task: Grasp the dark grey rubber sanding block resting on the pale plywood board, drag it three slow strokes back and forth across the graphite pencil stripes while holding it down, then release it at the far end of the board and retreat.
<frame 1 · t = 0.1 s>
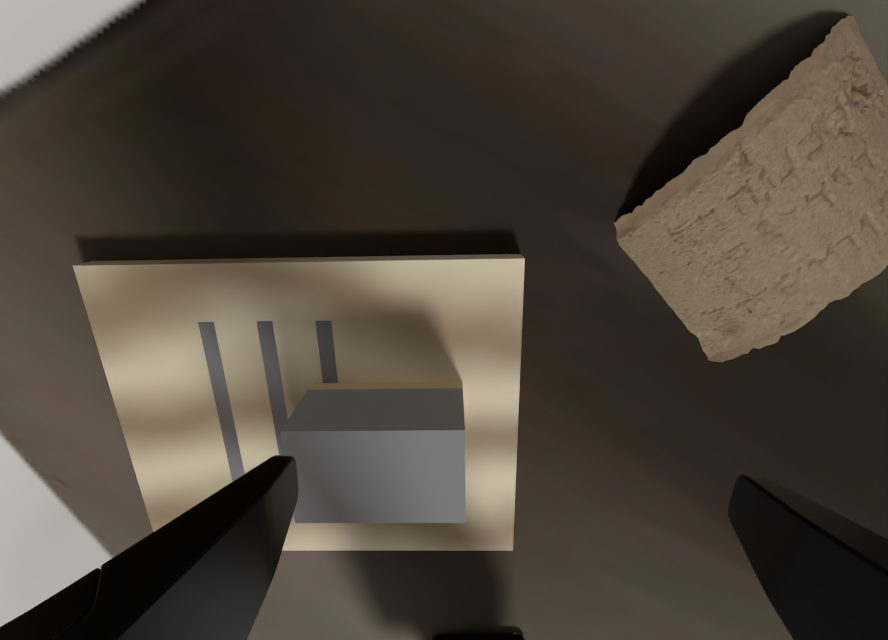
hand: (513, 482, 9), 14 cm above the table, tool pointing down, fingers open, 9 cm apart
plywood board: (323, 412, 25), on the table
clay tablet: (761, 207, 22), on the table
sanding block: (389, 423, 24), point 1 cm above the table, touching plywood board
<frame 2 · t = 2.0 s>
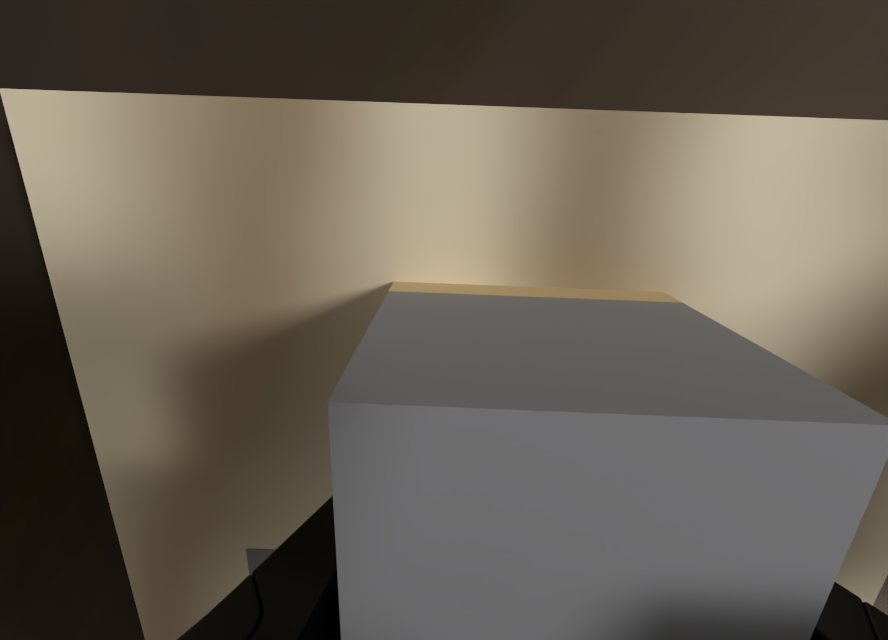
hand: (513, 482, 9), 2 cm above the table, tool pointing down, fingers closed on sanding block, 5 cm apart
plywood board: (492, 561, 12), on the table
sanding block: (510, 467, 9), point 1 cm above the table, touching gripper, plywood board
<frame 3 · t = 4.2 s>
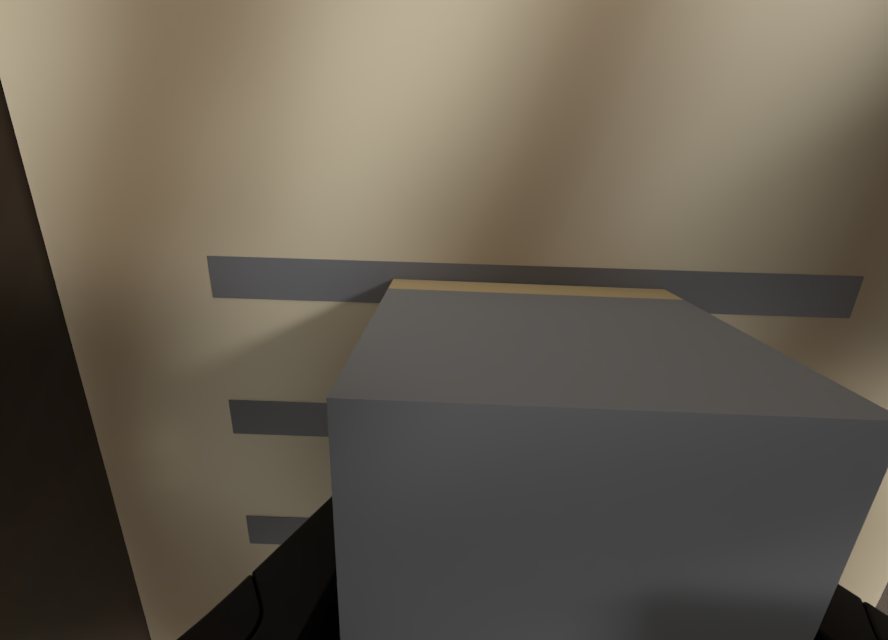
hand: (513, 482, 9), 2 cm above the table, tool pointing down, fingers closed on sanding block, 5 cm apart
plywood board: (517, 317, 10), on the table
sanding block: (510, 466, 9), point 1 cm above the table, touching gripper
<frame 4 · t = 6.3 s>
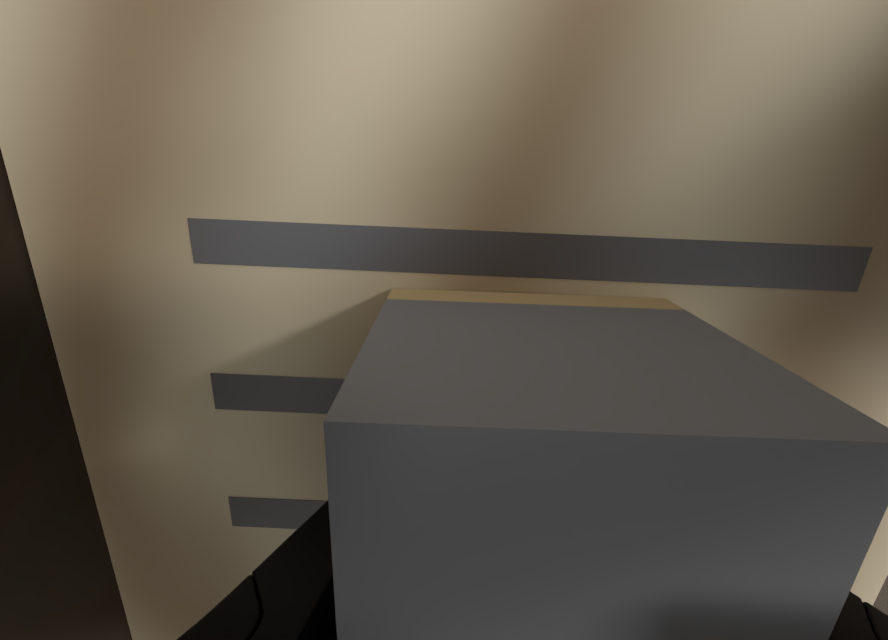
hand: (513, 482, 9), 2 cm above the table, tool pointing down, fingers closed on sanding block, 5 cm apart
plywood board: (512, 292, 9), on the table
sanding block: (510, 475, 9), point 1 cm above the table, touching gripper
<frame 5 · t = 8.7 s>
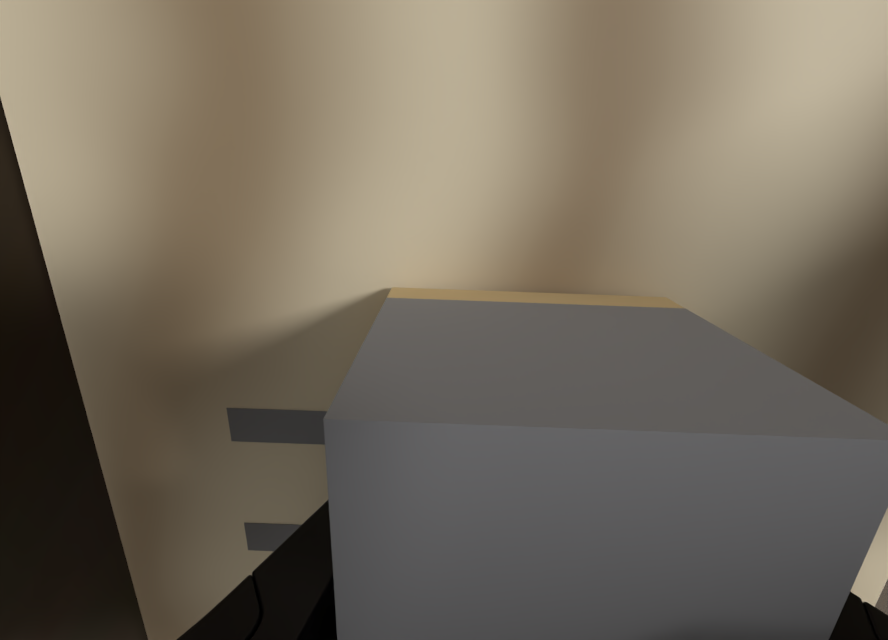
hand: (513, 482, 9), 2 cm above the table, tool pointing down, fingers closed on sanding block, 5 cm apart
plywood board: (504, 441, 11), on the table
sanding block: (510, 474, 9), point 1 cm above the table, touching gripper
when the fingers open (2 cm above the table, at t = 10.6 s): sanding block stays where it is, resting on plywood board.
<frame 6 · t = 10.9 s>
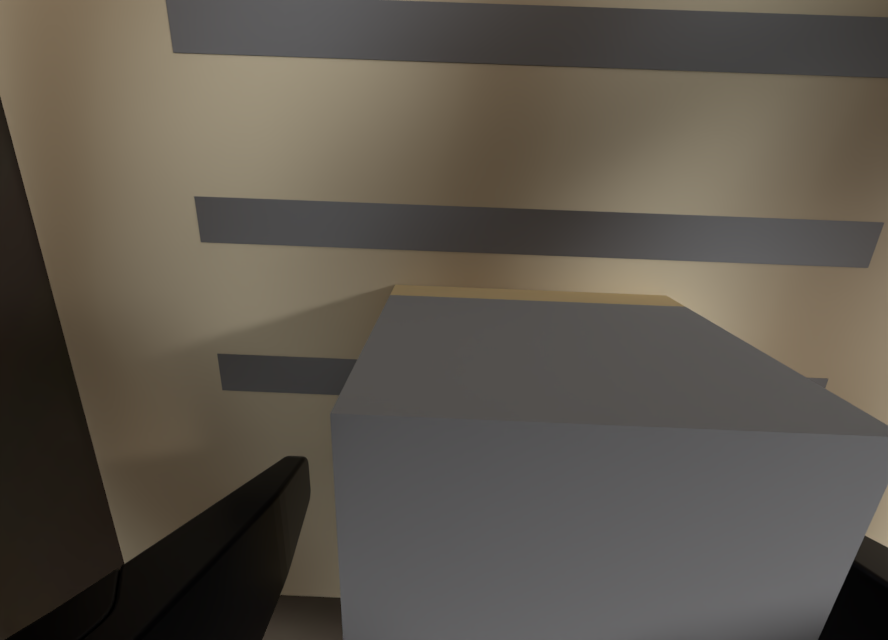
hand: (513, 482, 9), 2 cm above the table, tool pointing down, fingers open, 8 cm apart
plywood board: (534, 116, 8), on the table
sanding block: (511, 470, 9), point 1 cm above the table, touching plywood board
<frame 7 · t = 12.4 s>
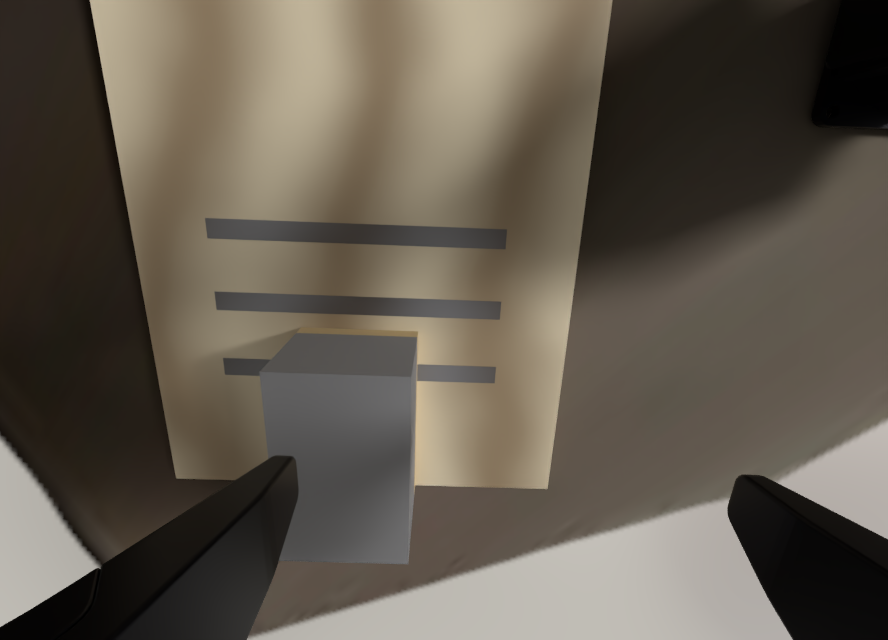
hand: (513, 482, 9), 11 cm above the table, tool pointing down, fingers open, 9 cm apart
plywood board: (362, 253, 19), on the table
sanding block: (361, 411, 20), point 1 cm above the table, touching plywood board
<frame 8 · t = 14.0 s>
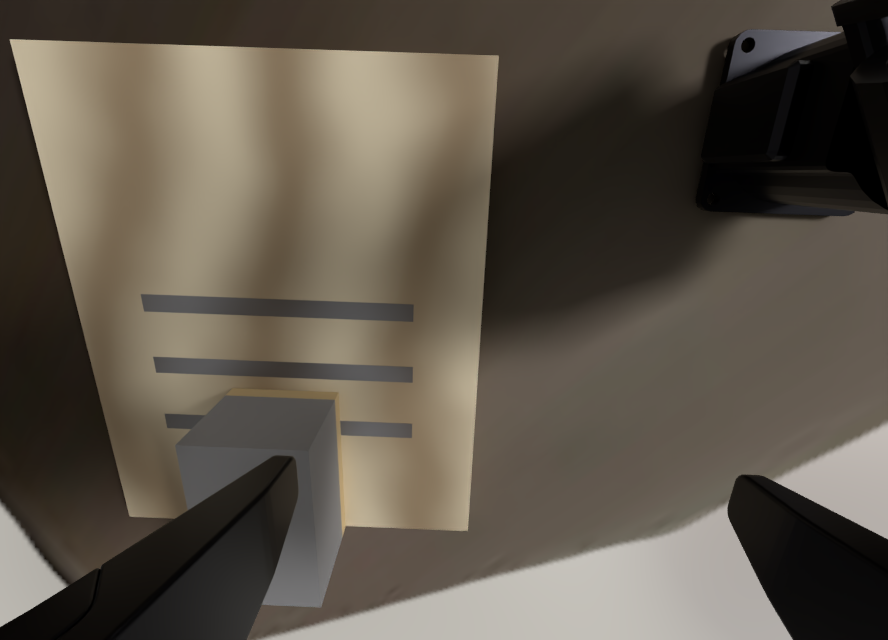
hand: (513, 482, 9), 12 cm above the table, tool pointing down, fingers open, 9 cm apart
plywood board: (289, 320, 21), on the table
sanding block: (292, 461, 22), point 1 cm above the table, touching plywood board
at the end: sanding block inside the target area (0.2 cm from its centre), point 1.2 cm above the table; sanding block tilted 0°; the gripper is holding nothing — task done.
